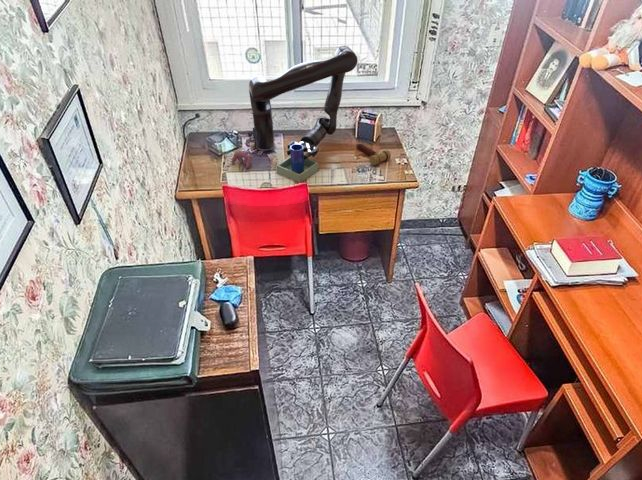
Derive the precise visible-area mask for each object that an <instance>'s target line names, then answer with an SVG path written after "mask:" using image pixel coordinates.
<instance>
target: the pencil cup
mask: <svg viewBox="0 0 642 480" xmlns="http://www.w3.org/2000/svg"><path fill="white" fill-rule="evenodd" d="M304 155H305V152H304V147H303V145H301V144H293V145H291V146H290V155H289V156H291V171H293V172H295V173H298V174H301V173H302V172H304Z"/></svg>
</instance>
